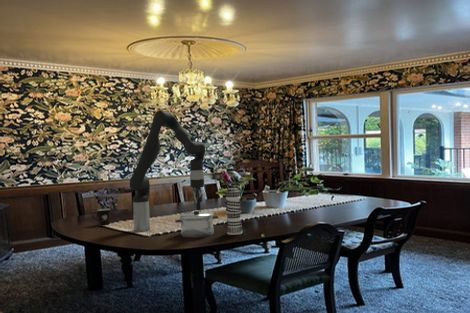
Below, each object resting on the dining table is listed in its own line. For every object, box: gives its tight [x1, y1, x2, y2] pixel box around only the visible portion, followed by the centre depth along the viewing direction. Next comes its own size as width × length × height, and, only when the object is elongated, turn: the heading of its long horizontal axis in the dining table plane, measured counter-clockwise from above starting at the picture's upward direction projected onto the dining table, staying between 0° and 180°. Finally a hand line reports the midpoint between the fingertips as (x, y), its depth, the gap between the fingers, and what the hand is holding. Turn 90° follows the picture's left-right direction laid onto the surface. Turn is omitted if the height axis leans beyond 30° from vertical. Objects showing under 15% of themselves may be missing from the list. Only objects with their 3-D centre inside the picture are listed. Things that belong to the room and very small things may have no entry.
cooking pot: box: [174, 215, 219, 239], centre depth 245 cm, size 24×18×10 cm
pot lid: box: [179, 210, 215, 219], centre depth 245 cm, size 19×20×3 cm
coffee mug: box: [91, 208, 112, 226], centre depth 290 cm, size 12×9×10 cm
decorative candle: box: [224, 187, 243, 236], centre depth 242 cm, size 9×9×25 cm
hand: (198, 209), depth 239 cm, fingers closed
